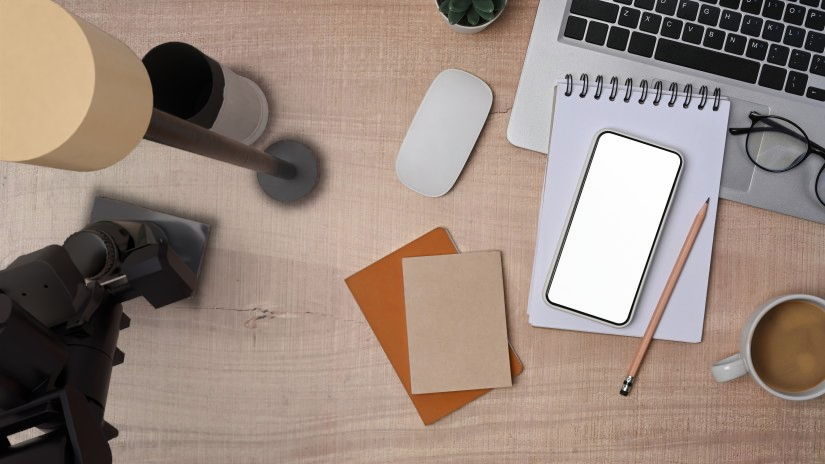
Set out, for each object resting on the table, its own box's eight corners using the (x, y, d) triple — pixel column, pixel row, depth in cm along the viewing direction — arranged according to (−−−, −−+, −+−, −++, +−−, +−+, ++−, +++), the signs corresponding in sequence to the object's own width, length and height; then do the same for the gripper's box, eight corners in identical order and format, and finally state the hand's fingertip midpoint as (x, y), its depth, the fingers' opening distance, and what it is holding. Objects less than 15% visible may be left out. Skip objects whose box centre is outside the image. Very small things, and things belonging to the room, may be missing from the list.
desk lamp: (293, 214, 70) (19, 196, 25) (248, 174, 71) (-104, 84, 25) (332, 169, 70) (129, 67, 25) (287, 129, 70) (4, -46, 25)
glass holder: (264, 153, 70) (216, 134, 55) (145, 141, 71) (66, 119, 56) (272, 78, 70) (225, 38, 55) (152, 67, 71) (75, 25, 56)
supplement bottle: (119, 282, 71) (54, 294, 59) (110, 224, 71) (42, 224, 59) (176, 273, 70) (122, 283, 58) (167, 215, 70) (111, 213, 58)
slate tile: (193, 299, 71) (191, 300, 70) (80, 270, 72) (77, 270, 71) (211, 224, 71) (209, 224, 70) (98, 196, 71) (95, 196, 71)
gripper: (118, 271, 46) (142, 152, 57) (-102, 351, 47) (-37, 218, 58) (195, 348, 54) (203, 230, 65) (4, 415, 55) (44, 287, 66)
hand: (105, 240), depth 63 cm, fingers open, 9 cm apart
